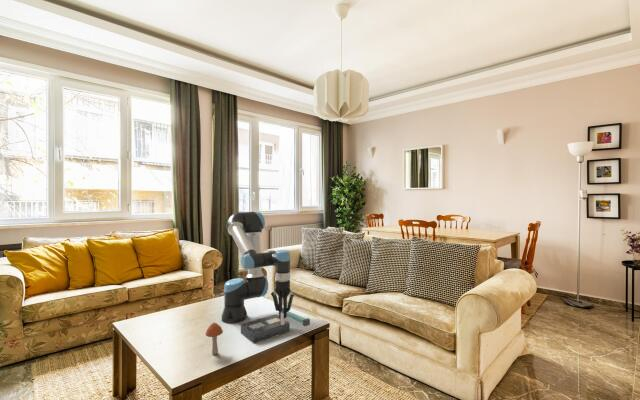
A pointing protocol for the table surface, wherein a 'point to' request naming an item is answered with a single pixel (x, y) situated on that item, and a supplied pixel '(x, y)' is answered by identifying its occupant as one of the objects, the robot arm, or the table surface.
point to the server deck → (264, 328)
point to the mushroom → (214, 335)
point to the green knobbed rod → (298, 318)
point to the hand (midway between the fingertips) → (282, 323)
